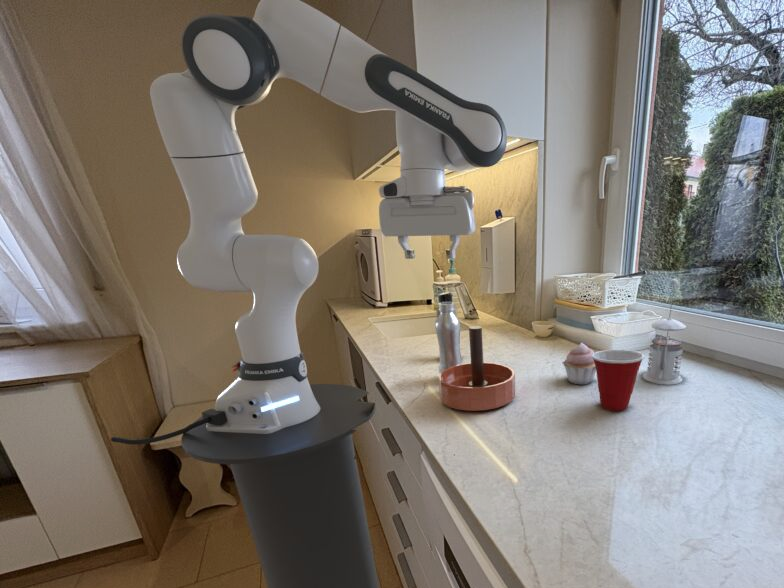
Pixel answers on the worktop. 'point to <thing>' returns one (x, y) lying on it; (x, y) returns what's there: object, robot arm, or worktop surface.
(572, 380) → the cupcake
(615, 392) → the plastic cup
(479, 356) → the stirring stick
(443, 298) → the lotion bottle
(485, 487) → the worktop surface
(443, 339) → the silver elongated piece
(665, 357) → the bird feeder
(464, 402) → the bowl
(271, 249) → the robot arm
